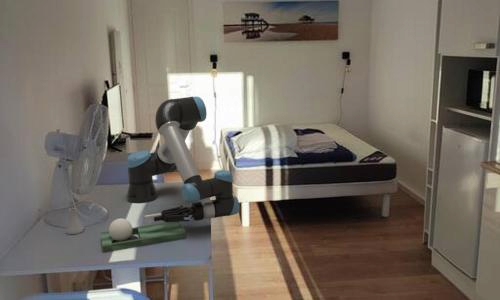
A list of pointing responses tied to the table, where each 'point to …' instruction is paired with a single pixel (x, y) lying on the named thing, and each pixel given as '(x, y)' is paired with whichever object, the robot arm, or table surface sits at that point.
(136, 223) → the table surface
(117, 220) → the ball
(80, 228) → the flask
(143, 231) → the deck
